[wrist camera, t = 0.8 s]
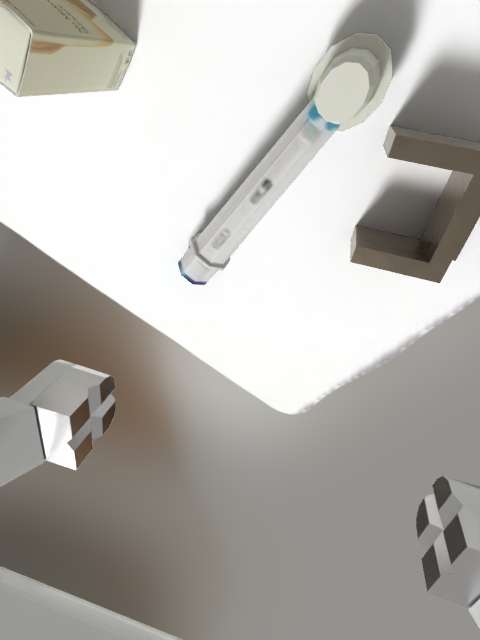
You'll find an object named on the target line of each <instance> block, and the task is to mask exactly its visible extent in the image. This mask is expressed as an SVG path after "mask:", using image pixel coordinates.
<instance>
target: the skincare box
mask: <svg viewBox="0 0 480 640" xmlns="http://www.w3.org/2000/svg"><path fill="white" fill-rule="evenodd" d="M134 49H135V43H134V42H133V41H132V40H131V39H130V38H129V37H128V36H127V35H126V34H125V33H124V32H123V31H122V30H121V29H120V28H119V27H118V26H116V25H115V24H114V23H113V22H112V21H111V20H110V19H109V18H108V17H107V16H105V15H104V14H103V13H102V12H101V11H100V10H99V9H97V8H96V7H95V6H94V5H93V4H91V3H90V2H89V1H88V0H0V84H2V85H3V86H4V87H5V88H7V89H8V90H9V91H10V92H12V93H13V94H14V95H15V96H17V97H22V96H37V95H53V94H68V93H83V92H98V91H114V90H118V89H119V86H120V84H121V82H122V79H123V77H124V75H125V72H126V70H127V68H128V65H129V63H130V60H131V57H132V54H133V52H134Z"/></svg>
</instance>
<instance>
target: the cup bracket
mask: <svg viewBox="0 0 480 640" xmlns="http://www.w3.org/2000/svg"><path fill="white" fill-rule="evenodd" d="M383 146H384V149H385V151H386V154H387V157H389V158H394V159H399V160H404V161H409V162H414V163H419V164H424V165H429V166H434V167H439V168H444V169H448V170H453V171H452V173H451V176H450V178H449V180H448V182H447V184H446V186H445V188H444V191H443V193H442V195H441V197H440V199H439V201H438V203H437V206H436V208H435V210H434V212H433V214H432V216H431V218H430V221H429V223H428V225H427V227H426V229H425V231H424V233H423V236H422V238H421V240H419V239H414V238H410V237H406V236H401V235H397V234H392V233H388V232H383V231H379V230H375V229H370V228H366V227H361V226H357V225H356V226H355V229H354V232H353V235H352V238H351V256H350V262H353V263H357V264H362V265H366V266H370V267H374V268H378V269H383V270H387V271H391V272H395V273H399V274H404V275H408V276H412V277H416V278H420V279H425V280H429V281H433V282H437V283H440V282H441V280H442V278H443V276H444V274H445V273H446V271H447V269H448V267H449V265H450V263H451V261H452V260H454V261H456V259H457V257H458V255H459V253H460V251H461V250H462V248H463V246H464V244H465V242H466V240H467V239H468V237H469V235H470V233H471V231H472V230H473V228H474V226H475V224H476V222H477V220H478V219H479V217H480V142H474V141H469V140H464V139H459V138H453V137H448V136H443V135H438V134H432V133H427V132H422V131H417V130H411V129H406V128H401V127H396V126H390V127H389V130H388V133H387V136H386V139H385V142H384V145H383Z"/></svg>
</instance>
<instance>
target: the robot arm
mask: <svg viewBox="0 0 480 640" xmlns="http://www.w3.org/2000/svg"><path fill="white" fill-rule="evenodd" d="M114 388H115V379H114V378H113V377H112V376H110V375H107V374H104V373H101V372H98V371H95V370H91V369H89V368H86V367H83V366H80V365H76V364H73V363H70V362H67V361H64V360H57V361H54V362H53V363H51V364H50V365H49V366H48V367H46V368H45V369H44V370H43V371H42V372H40V373H39V374H38V375H37V376H36V377H34V378H33V379H32V380H31V381H30V382H28V383H27V384H26V385H25V386H23V387H22V388H21V389H20V390H19V391H17V392H16V393H15V394H14V395H12V396H11V397H10V398H6V397H1V398H0V487H1V486H3V485H4V484H6V483H8V482H10V481H12V480H13V479H15V478H17V477H19V476H20V475H22V474H24V473H26V472H28V471H29V470H31V469H33V468H35V467H36V466H38V465H40V464H42V463H44V462H45V461H44V460H47V461H50V462H53V463H56V464H59V465H62V466H66V467H69V468H72V469H75V470H77V468H78V467H79V466H80V464H81V463H82V462H83V460H84V459H85V458H86V457H87V455H88V454H89V453H90V452H91V450H92V449H93V446H92V440H94V439H96V438H98V437H100V436H102V435H104V433H105V432H106V430H107V429H108V428H109V426H110V424H111V422H112V420H113V417H114V414H115V409H116V400H115V399H114V397H113V396H112V395H111V392H112V391H113V390H114ZM432 486H433V490H434V494H432V495H429V496H426V497H424V499H423V500H422V502H421V503H420V505H419V508H418V512H417V517H416V529H417V536H418V540H419V541H420V542H421V544H422V545H423V547H424V548H425V549H426V551H427V552H426V553H425V555H424V556H423V558H422V566H423V572H424V577H425V583H426V588H427V592H429V593H432V594H434V595H437V596H439V597H442V598H445V599H447V600H450V601H453V602H455V603H458V604H461V605H464V606H466V607H469V611H470V613H471V615H472V617H473V618H474V620H475V621H476V623H477V625H478V626H479V628H480V487H479V486H476V485H472V484H469V483H465V482H462V481H458V480H455V479H451V478H448V477H445V476H442V477H439V478H437V480H436V481H435V483H434V484H433V485H432ZM0 640H182V639H180V638H177V637H175V636H172V635H170V634H167V633H165V632H162V631H160V630H157V629H155V628H152V627H150V626H147V625H145V624H142V623H140V622H138V621H135V620H132V619H130V618H127V617H125V616H122V615H120V614H118V613H115V612H113V611H110V610H107V609H105V608H103V607H100V606H98V605H95V604H93V603H90V602H88V601H85V600H83V599H80V598H78V597H75V596H73V595H70V594H68V593H65V592H63V591H60V590H58V589H55V588H53V587H51V586H48V585H46V584H43V583H41V582H38V581H36V580H33V579H31V578H28V577H26V576H23V575H21V574H18V573H15V572H13V571H11V570H8V569H6V568H3V567H1V566H0Z"/></svg>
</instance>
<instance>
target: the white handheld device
mask: <svg viewBox="0 0 480 640" xmlns="http://www.w3.org/2000/svg"><path fill="white" fill-rule="evenodd" d="M392 76H393V71H392V56H391V49H390V48H389V47H388V46H387V45H386V44H385V43H384V42H383V40H382V39H381V38H380V37H379V36H378V35H377V34H363V33H354V34H352V35H351V36H349V37H347V38H345V39H344V40H342V41H340V42H338V43H337V44H335V45H333V46H331V47H330V48H329V50H328V51H327V52H326V54H325V55H324V57H323V58H322V59H321V61H320V62H319V63H318V65H317V66H316V67H315V69H314V71H313V74H312V78H311V82H310V85H309V89H308V93H307V98H308V105H307V106H306V107H305V108H304V109H303V111H302V112H301V113H300V114H299V115H298V117H297V118H296V119H295V120H294V122H293V123H292V124H291V125H290V126H289V128H288V129H287V130H286V131H285V132H284V134H283V135H282V136H281V137H280V138H279V140H278V141H277V142H276V143H275V145H274V146H273V147H272V148H271V149H270V151H269V152H268V153H267V154H266V155H265V157H264V158H263V159H262V160H261V161H260V163H259V164H258V165H257V166H256V167H255V169H254V170H253V171H252V172H251V174H250V175H249V176H248V177H247V178H246V180H245V181H244V182H243V183H242V184H241V186H240V187H239V188H238V189H237V190H236V192H235V193H234V194H233V195H232V197H231V198H230V199H229V200H228V201H227V203H226V204H225V205H224V206H223V207H222V209H221V210H220V211H219V212H218V213H217V215H216V216H215V217H214V218H213V220H212V221H211V222H210V223H209V224H208V226H207V227H206V228H205V229H204V230H203V232H202V233H200V232H198V233H197V234H196V235H195V236H194V237H193V238H192V240H191V241H190V242H189V243H190V248H189V249H188V250H187V252H186V253H185V254H184V256H183V257H182V258H181V260H180V261H179V262H178V265H179V269H180V272H181V275H182V276H183V277H185V278H186V279H187V280H188V281H189V282H191V283H192V284H198V285H205V284H206V283H207V282H208V281H209V280H210V279H211V277H212V276H213V275H214V274H215V273H216V272H217V271H218V270H223V269H224V268H225V267H226V265H227V264H228V262H229V261H230V256H231V255H232V253H233V252H234V251H235V250H236V249H237V248H238V246H239V245H240V244H241V243H242V242H243V240H244V239H245V238H246V237H247V236H248V234H249V233H250V232H251V231H252V230H253V229H254V227H255V226H256V225H257V224H258V223H259V221H260V220H261V219H262V218H263V217H264V215H265V214H266V213H267V212H268V211H269V209H270V208H271V207H272V206H273V205H274V204H275V202H276V201H277V200H278V199H279V198H280V196H281V195H282V194H283V193H284V192H285V190H286V189H287V188H288V187H289V186H290V185H291V183H292V182H293V181H294V180H295V179H296V177H297V176H298V175H299V174H300V173H301V171H302V170H303V169H304V168H305V167H306V166H307V164H308V163H309V162H310V161H311V160H312V158H313V157H314V156H315V155H316V154H317V152H318V151H319V150H320V149H321V148H322V147H323V145H324V144H325V143H326V142H327V141H328V139H329V138H330V137H331V136H332V135H333V133H334V132H335V131H336V130H337V131H344V130H347V129H349V128H351V127H353V126H356V125H358V124H360V123H362V122H364V121H365V120H366V119H367V118H368V117H369V116H370V115H371V114H372V113H373V111H374V110H375V109H376V108H377V107H378V106H379V105H380V104H381V103H382V101H383V99H384V96H385V94H386V91H387V89H388V86H389V84H390V81H391V79H392Z"/></svg>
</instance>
